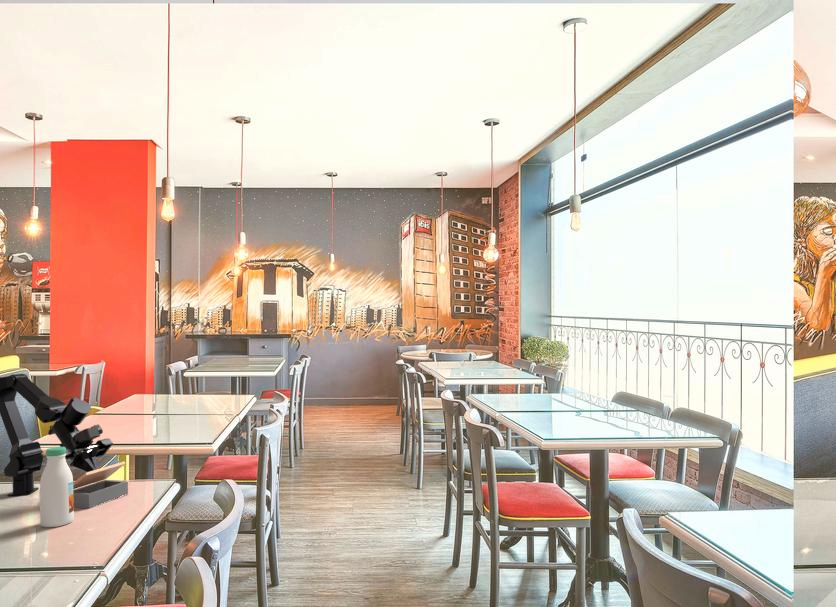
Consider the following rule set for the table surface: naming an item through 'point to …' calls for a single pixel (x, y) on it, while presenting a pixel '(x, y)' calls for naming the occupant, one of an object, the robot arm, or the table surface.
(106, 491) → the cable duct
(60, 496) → the milk bottle
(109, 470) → the duct cover
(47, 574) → the table surface
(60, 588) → the table surface
